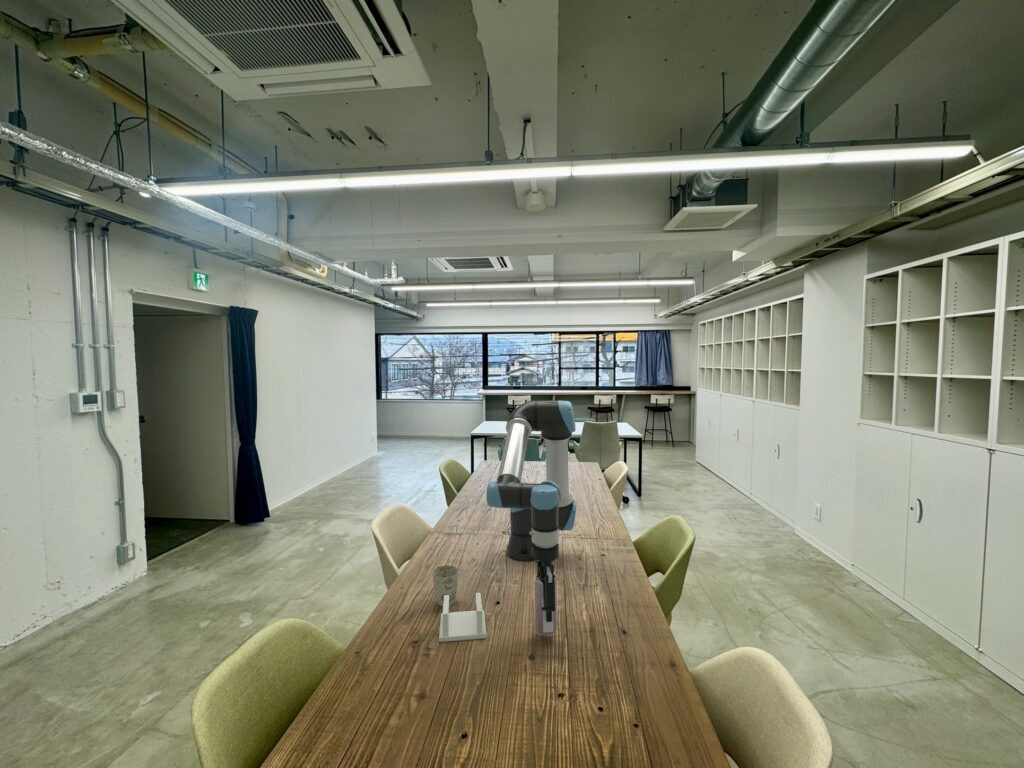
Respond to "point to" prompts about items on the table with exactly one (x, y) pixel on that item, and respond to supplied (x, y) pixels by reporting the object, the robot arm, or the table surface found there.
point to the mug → (445, 583)
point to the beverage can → (538, 611)
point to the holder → (462, 622)
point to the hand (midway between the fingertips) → (545, 623)
